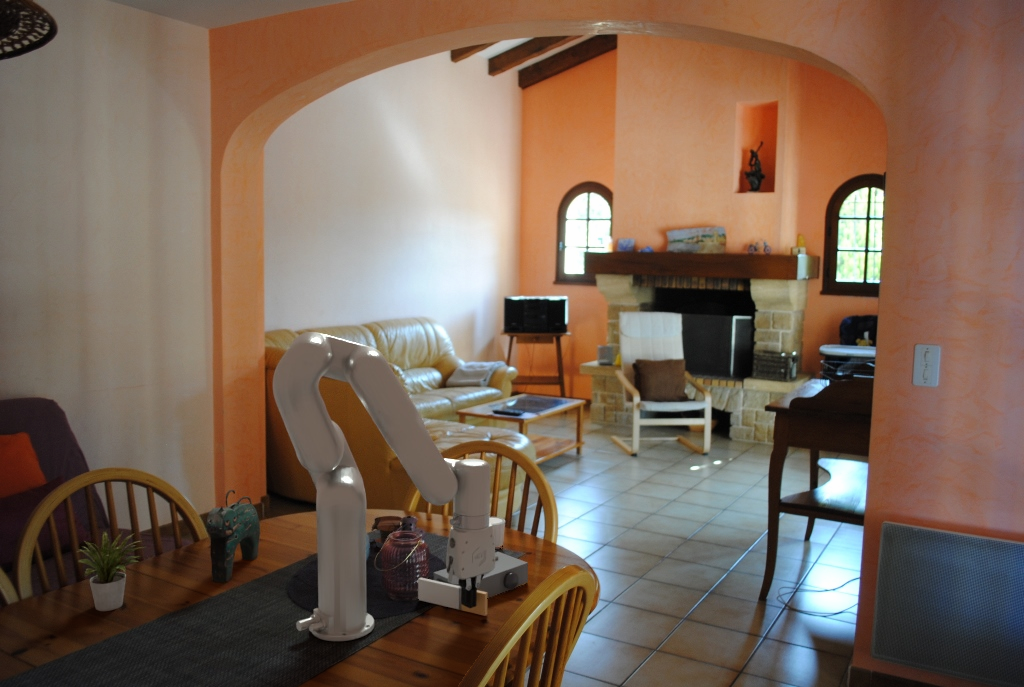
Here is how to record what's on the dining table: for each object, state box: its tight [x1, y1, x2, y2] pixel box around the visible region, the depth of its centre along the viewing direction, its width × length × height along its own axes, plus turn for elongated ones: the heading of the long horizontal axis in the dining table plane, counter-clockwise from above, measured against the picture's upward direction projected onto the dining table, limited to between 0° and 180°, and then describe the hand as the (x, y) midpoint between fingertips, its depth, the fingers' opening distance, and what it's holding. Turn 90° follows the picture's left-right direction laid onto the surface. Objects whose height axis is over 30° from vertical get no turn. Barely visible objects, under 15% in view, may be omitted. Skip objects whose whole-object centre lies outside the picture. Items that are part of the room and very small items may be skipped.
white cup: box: [489, 516, 506, 547], centre depth 221 cm, size 7×7×7 cm
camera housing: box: [433, 551, 529, 599], centre depth 192 cm, size 20×11×6 cm, turn 134°
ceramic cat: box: [206, 489, 261, 584], centre depth 203 cm, size 20×6×20 cm, turn 171°
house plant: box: [77, 530, 146, 612], centre depth 180 cm, size 14×14×16 cm
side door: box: [417, 577, 488, 616], centre depth 182 cm, size 1×17×5 cm, turn 62°
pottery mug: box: [371, 515, 403, 543], centre depth 223 cm, size 12×10×8 cm
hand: (468, 605), depth 177 cm, fingers closed
